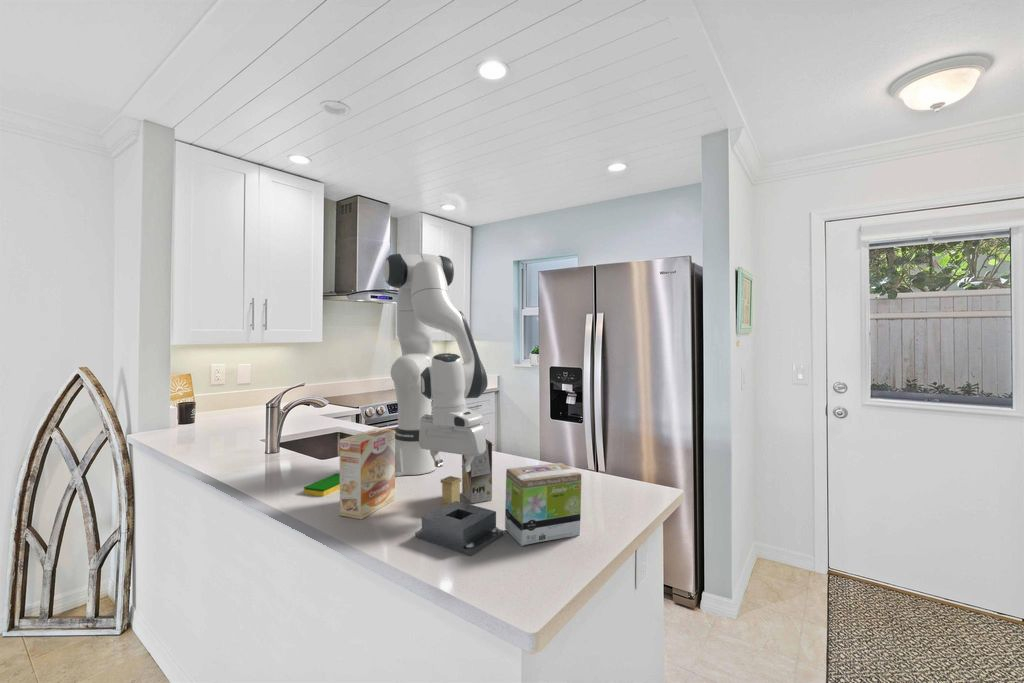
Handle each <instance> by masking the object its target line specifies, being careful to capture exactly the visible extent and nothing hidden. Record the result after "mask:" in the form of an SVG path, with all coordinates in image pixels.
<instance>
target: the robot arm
mask: <svg viewBox="0 0 1024 683" xmlns="http://www.w3.org/2000/svg"><path fill="white" fill-rule="evenodd" d="M382 270H383V276H384V279H385V283H386V284H387V285H388V286H389V287H393V288H397V289H398V290H397V297H396V336H397V339H398V341H399V345H400V350H401V356H399V357H397V359H396V360H395V361H394V362H393V364H392V365H391V367H390V378H391V380H392V381H393V385H394V391H395V396H396V402H397V427H395V428H392V429H391V430H395V477H399V476H400V477H401V476H415V475H423V474H424V475H425V474H427V473H431V472H433V471H435V470H436V469H437V468H441V467H443V466H444V461H443V459H441V457H440V455H439V453H446V454H447V453H448V454H454V455H455V454H456V455H461V456H462V455H464V456H465V459H467V460H466V462H465V464H463V465H462V464H461V472H462V471H463V472H469V471H470V470H471V463H472V461H473V459H474V456H475V457H477V456H480V455H482V454H484V452H485V450H486V439H487V438H486V432H485V428H484V426H483V425H482V423H483V422H484V416H483V415H482V414H480V413H478V412H476V411H474V410H472V409H470V408H468V407H467V400H466V399H478V398H480V397H481V396H482V395H483V394H484V393H485V391H486V390H487V388H488V382H489V381H488V375H487V372H486V369H485V367H484V365H483V363H482V360H481V359H480V358H481V357H480V356H479V353H478V351H477V347H476V344H475V341H474V339H473V335H472V332H471V329H470V326H469V324H468V320H467V319H466V316H465V314H464V313H463V311H461V310H458V308H456V306H455V305H454V304H453V302H452V300H451V296H450V291H449V286H450V285H452V283H453V280H454V277H455V268H454V264H453V261H452V260H451V259H450V257H447V256H444V255H441V254H440V255H434V254H427V253H407V254H401V253H393V254H390V255H388V256H387V257H386V259H385V261H384V264H383V269H382ZM432 328H433V329H436V330H440V331H442V332H445V333H447V334H450V335H451V336H452V337H453V338H454V339H455V340H456V343H457V345H458V349H459V351H460V355H461V356H460V355H459V354H456V353H450V352H448V353H438V354H436V355H435V354H434V353H435V352H434V347H433V340H432V331H431V330H432ZM431 400H432V401H431Z"/></svg>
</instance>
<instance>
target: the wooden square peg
mask: <svg viewBox="0 0 1024 683" xmlns="http://www.w3.org/2000/svg"><path fill="white" fill-rule="evenodd" d="M460 482H461V483H462V478H461V477H458V476H453V475H449V476H446V477H444V478H441V479H440V483H441V488H442V489H441V491H442V493H441V500H442V501H441V508H442V507H444V506H446V505H448V504H451V503H453V502H455V501H459V502H461V501H460V500H461V497H460V492H461V491H460V490H461V489H460V485H461V484H460Z"/></svg>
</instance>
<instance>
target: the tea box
mask: <svg viewBox="0 0 1024 683" xmlns="http://www.w3.org/2000/svg"><path fill="white" fill-rule="evenodd" d="M505 472H506V474H505V475H506V478H505V503H504V504H505V505H504V506H505V510H504V513H505V515H504V529H505V530H506V531H507V533H508V534H509V535H510V536H511V537H513V539H515V541H516V542H517V543H518V544H519V545H520V546H521V547H524V546H528V545H531V544H536V543H541V542H542V543H543V542H547V541H553V540H559V539H566V538H567V539H568V538H572V537H578V536H580V534H581V533H580V532H581V516H582V514H581V511H582V504H581V503H582V473H580V472H578V471H577V470H575V469H574V468H571V467H569V466H568V465H566V464H564V463H563V462H555V463H547V464H539V465H538V464H537V465H529V466H521V467H520V466H519V467H511V468H506V471H505Z"/></svg>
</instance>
